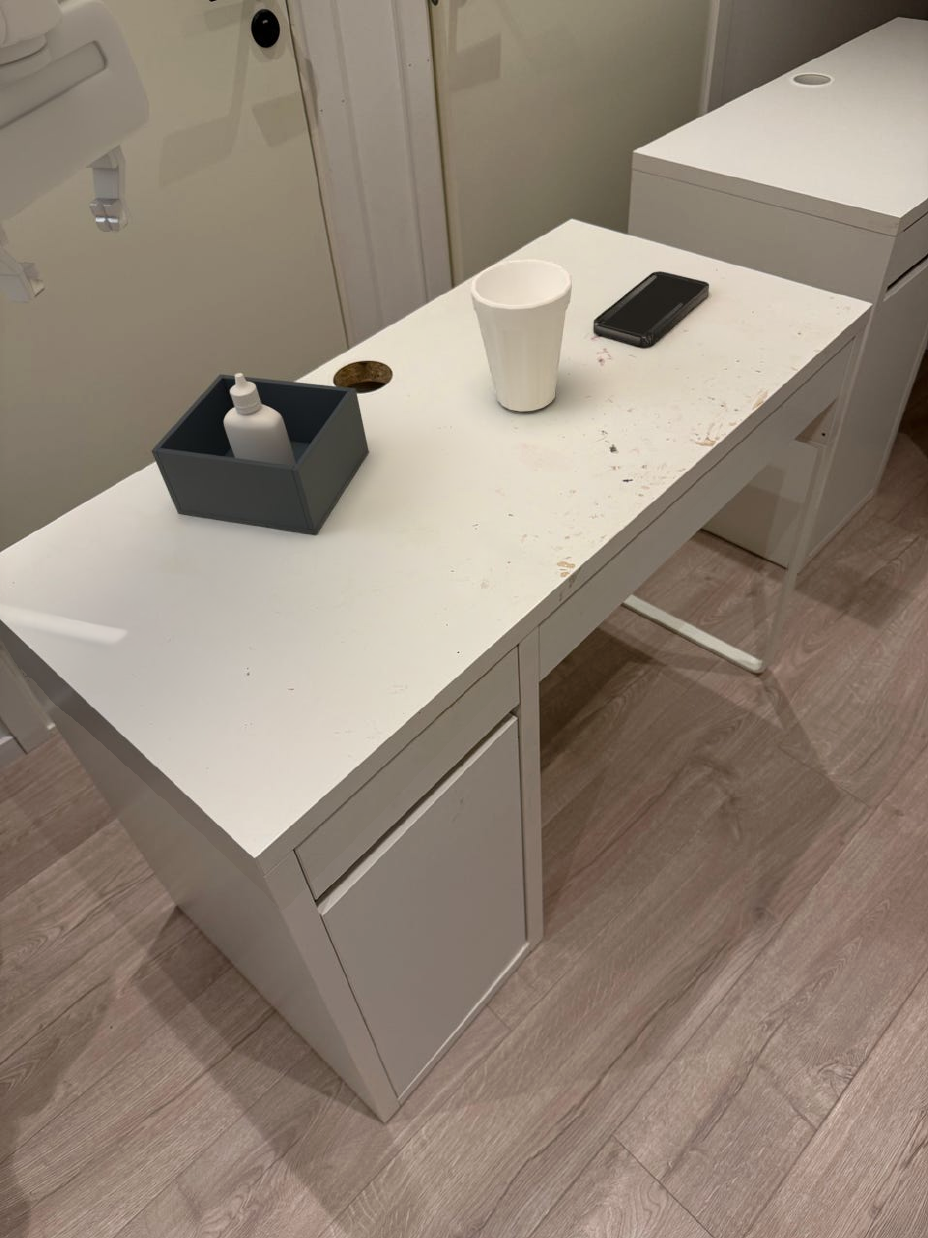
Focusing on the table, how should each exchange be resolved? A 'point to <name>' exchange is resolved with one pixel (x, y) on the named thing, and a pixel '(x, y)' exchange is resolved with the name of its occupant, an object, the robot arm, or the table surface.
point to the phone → (651, 308)
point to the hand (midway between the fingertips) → (74, 260)
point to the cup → (522, 328)
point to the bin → (263, 490)
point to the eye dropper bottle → (256, 427)
